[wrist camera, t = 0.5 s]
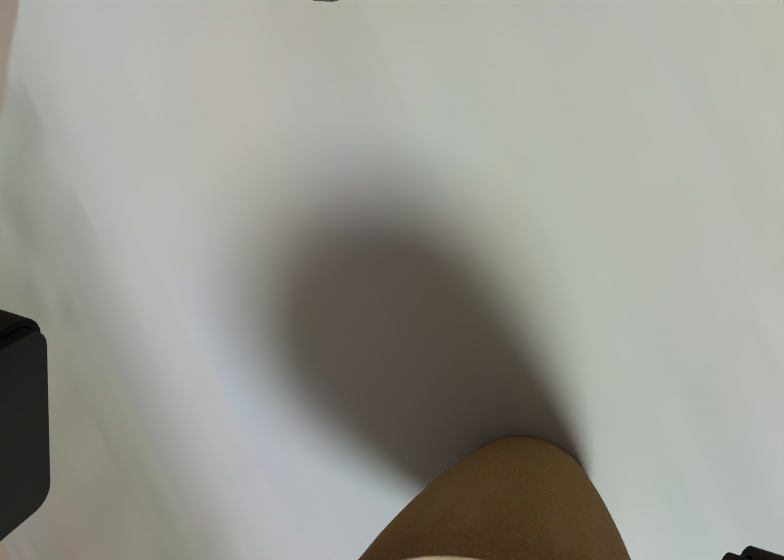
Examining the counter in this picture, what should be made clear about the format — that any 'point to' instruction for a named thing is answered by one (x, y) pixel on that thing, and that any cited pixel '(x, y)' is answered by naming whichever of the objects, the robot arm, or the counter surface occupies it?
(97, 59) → the counter surface
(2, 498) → the robot arm
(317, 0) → the grey petal ring
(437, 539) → the plant pot
